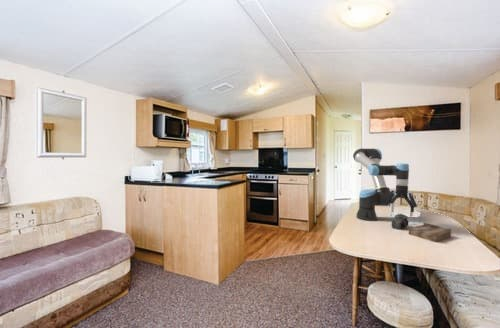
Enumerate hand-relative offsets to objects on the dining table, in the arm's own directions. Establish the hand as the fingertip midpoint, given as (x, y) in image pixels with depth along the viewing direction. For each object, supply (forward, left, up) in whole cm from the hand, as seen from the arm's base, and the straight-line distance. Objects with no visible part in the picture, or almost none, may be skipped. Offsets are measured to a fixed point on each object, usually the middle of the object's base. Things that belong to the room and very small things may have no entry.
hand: (400, 214), depth 178 cm
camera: (-1, 0, -10) cm, 10 cm away
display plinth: (+19, +1, -10) cm, 21 cm away
